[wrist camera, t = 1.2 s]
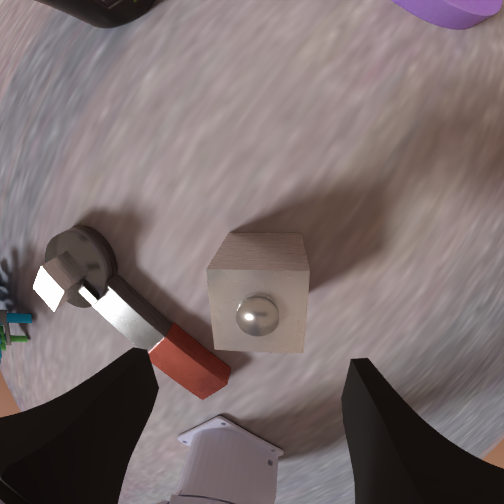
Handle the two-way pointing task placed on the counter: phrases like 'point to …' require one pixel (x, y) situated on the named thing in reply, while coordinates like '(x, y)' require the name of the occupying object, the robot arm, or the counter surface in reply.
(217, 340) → the socket
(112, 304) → the ratchet
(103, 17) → the supplement bottle
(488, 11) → the masking tape
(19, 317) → the gear
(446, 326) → the counter surface
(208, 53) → the counter surface
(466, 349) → the counter surface
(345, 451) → the counter surface
